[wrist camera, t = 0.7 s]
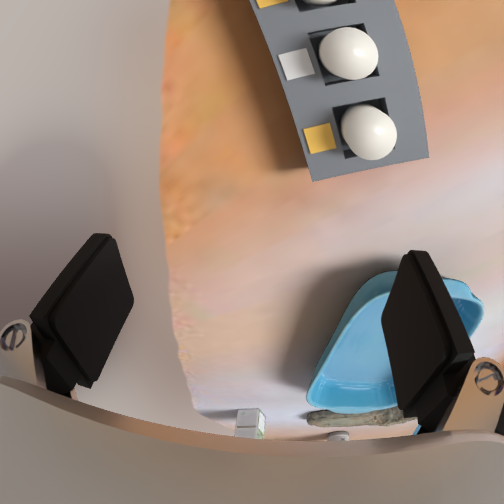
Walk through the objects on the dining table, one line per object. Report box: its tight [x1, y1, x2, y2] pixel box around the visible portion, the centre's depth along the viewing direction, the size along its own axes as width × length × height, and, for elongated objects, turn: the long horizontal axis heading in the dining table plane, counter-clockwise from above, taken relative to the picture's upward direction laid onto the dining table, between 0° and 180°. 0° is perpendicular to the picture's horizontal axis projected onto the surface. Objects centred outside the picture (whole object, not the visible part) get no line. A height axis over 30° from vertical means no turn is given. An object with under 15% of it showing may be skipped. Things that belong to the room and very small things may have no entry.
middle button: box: [318, 27, 378, 80], centre depth 20 cm, size 4×4×4 cm
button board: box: [249, 0, 429, 182], centre depth 22 cm, size 12×22×4 cm, turn 19°
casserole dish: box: [306, 271, 484, 414], centre depth 43 cm, size 37×22×7 cm, turn 173°
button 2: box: [339, 103, 397, 160], centre depth 23 cm, size 4×4×4 cm
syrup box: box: [234, 409, 266, 439], centre depth 62 cm, size 6×6×14 cm
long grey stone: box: [307, 405, 417, 427], centre depth 62 cm, size 35×5×10 cm
